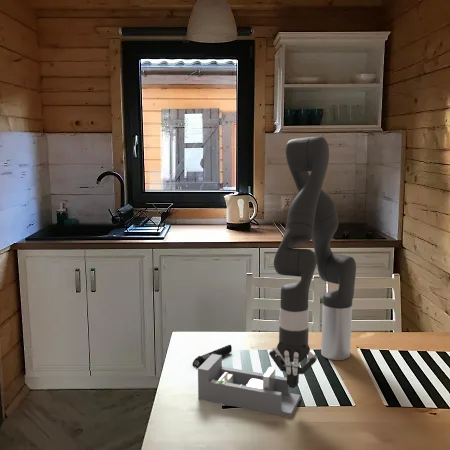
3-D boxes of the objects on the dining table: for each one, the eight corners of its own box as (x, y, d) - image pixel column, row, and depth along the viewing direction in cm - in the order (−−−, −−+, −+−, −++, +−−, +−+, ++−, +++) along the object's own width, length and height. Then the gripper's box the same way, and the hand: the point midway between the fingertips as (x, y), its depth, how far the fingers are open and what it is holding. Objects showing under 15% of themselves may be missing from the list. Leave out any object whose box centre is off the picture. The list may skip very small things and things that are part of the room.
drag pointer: (226, 384, 152) (226, 367, 151) (233, 386, 151) (233, 368, 150) (215, 398, 144) (215, 380, 143) (222, 399, 144) (222, 381, 143)
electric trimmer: (234, 355, 175) (234, 345, 175) (199, 369, 165) (199, 360, 164) (226, 351, 178) (226, 342, 177) (191, 366, 167) (191, 356, 167)
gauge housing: (212, 382, 156) (212, 353, 154) (300, 399, 146) (301, 368, 145) (198, 399, 147) (197, 368, 145) (291, 417, 137) (291, 385, 136)
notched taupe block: (252, 389, 149) (252, 363, 148) (274, 393, 147) (275, 367, 145) (244, 399, 144) (245, 373, 142) (268, 404, 141) (268, 377, 140)
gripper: (322, 322, 139) (320, 384, 142) (273, 316, 144) (272, 376, 147) (316, 333, 132) (314, 397, 135) (264, 325, 137) (264, 388, 140)
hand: (292, 386), depth 141 cm, fingers closed
